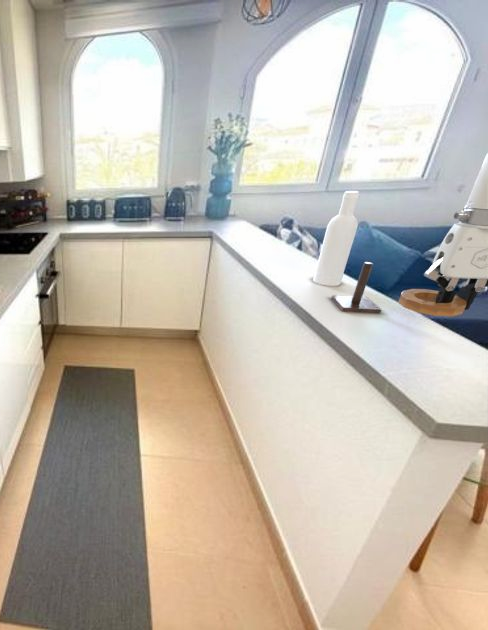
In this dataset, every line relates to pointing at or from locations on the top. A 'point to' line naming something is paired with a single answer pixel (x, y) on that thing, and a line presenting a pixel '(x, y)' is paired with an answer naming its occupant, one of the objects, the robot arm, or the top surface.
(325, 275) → the bottle
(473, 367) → the top surface
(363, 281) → the wooden peg stand
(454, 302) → the ring
